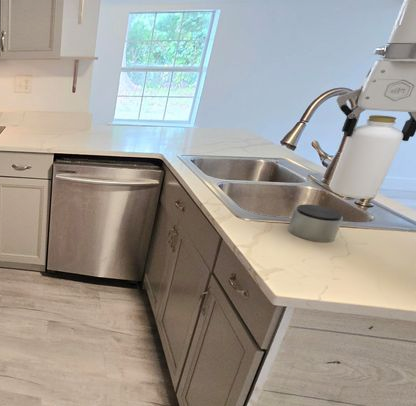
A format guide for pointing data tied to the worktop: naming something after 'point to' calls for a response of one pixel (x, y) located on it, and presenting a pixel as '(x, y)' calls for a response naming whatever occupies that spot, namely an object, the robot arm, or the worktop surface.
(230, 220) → the worktop surface
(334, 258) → the worktop surface
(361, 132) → the white bottle
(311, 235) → the grey cylinder
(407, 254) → the worktop surface
